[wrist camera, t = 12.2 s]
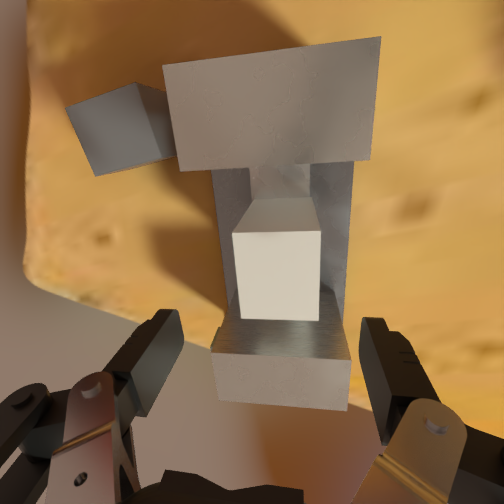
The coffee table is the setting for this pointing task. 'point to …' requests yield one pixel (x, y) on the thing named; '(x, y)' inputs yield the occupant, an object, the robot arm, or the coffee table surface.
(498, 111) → the coffee table surface
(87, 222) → the coffee table surface
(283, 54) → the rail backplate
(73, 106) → the block
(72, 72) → the coffee table surface
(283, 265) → the block
